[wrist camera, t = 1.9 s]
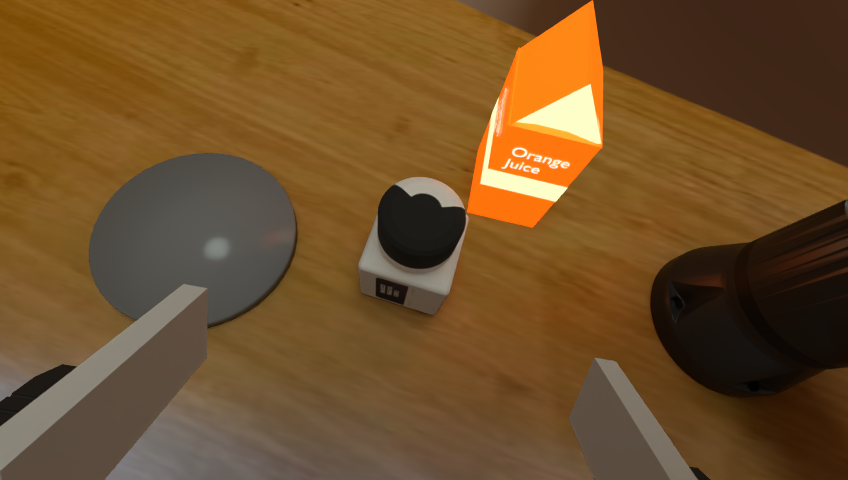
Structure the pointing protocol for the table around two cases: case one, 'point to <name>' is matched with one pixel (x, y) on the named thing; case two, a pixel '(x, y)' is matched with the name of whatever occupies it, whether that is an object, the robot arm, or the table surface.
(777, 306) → the robot arm
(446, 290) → the container
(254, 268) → the slate plate
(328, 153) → the table surface
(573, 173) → the orange juice
